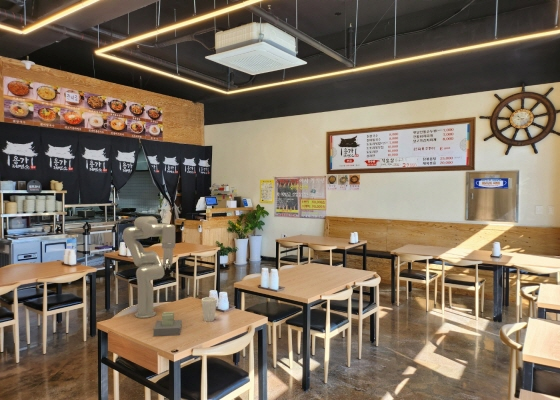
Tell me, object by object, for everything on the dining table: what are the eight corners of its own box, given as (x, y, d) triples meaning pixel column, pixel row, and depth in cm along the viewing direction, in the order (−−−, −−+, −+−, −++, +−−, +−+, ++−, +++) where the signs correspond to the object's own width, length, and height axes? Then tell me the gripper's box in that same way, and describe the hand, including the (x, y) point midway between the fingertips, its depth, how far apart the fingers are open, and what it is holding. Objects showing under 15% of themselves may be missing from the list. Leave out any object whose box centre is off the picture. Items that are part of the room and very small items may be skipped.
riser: (156, 327, 231) (156, 320, 231) (181, 326, 233) (181, 319, 233) (153, 336, 217) (153, 329, 217) (179, 334, 220) (179, 327, 220)
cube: (163, 322, 228) (163, 312, 228) (173, 322, 229) (174, 311, 229) (161, 326, 222) (162, 315, 222) (173, 325, 223) (173, 315, 223)
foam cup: (219, 319, 247) (220, 298, 247) (209, 323, 240) (209, 302, 239) (208, 316, 253) (209, 296, 252) (198, 320, 245) (198, 299, 245)
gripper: (163, 243, 242) (163, 271, 242) (160, 247, 225) (160, 277, 225) (176, 243, 243) (176, 271, 244) (173, 247, 226) (173, 277, 227)
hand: (168, 274), depth 234 cm, fingers open, 9 cm apart
